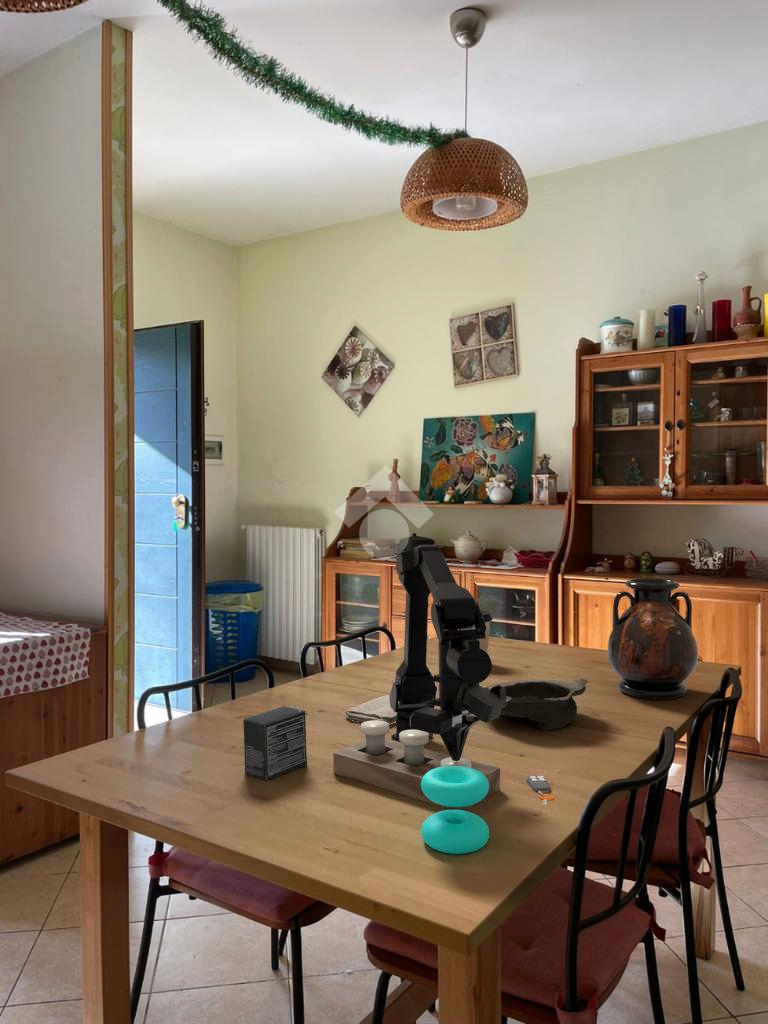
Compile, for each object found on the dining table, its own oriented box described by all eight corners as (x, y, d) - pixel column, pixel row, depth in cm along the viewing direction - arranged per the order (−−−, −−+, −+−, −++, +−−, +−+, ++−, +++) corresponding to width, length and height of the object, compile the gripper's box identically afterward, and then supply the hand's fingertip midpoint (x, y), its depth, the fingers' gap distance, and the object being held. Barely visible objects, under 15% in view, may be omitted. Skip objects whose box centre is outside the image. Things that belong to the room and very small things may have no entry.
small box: (284, 758, 153) (283, 704, 153) (308, 765, 149) (307, 710, 149) (242, 773, 145) (241, 717, 145) (266, 782, 141) (265, 723, 141)
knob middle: (411, 755, 144) (411, 727, 144) (434, 762, 141) (434, 733, 141) (393, 763, 140) (393, 734, 140) (417, 770, 137) (416, 740, 137)
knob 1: (373, 745, 150) (373, 718, 150) (395, 751, 147) (394, 723, 146) (355, 753, 146) (355, 725, 146) (377, 759, 143) (376, 730, 142)
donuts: (502, 774, 117) (458, 793, 110) (503, 841, 117) (459, 864, 110) (451, 758, 124) (406, 775, 117) (451, 821, 124) (407, 841, 117)
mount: (375, 755, 154) (375, 736, 154) (500, 789, 136) (499, 768, 136) (333, 773, 145) (333, 752, 145) (461, 812, 127) (460, 789, 127)
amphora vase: (684, 682, 208) (684, 576, 207) (709, 705, 187) (710, 586, 186) (600, 680, 210) (600, 576, 209) (616, 703, 189) (616, 586, 188)
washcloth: (342, 722, 178) (342, 708, 178) (385, 703, 193) (385, 690, 193) (386, 730, 171) (386, 716, 171) (427, 710, 186) (427, 697, 186)
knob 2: (452, 784, 139) (452, 754, 138) (477, 791, 135) (477, 761, 135) (435, 793, 134) (434, 763, 134) (460, 800, 131) (460, 769, 131)
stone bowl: (594, 738, 163) (591, 693, 162) (473, 740, 168) (469, 697, 167) (588, 703, 187) (585, 664, 187) (482, 706, 192) (479, 668, 192)
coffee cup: (455, 661, 235) (455, 611, 234) (484, 659, 237) (484, 609, 237) (468, 668, 226) (467, 616, 225) (498, 665, 228) (497, 614, 228)
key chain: (523, 782, 141) (523, 774, 141) (544, 782, 141) (544, 773, 141) (542, 812, 128) (542, 803, 128) (565, 812, 128) (565, 803, 128)
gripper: (464, 688, 122) (465, 788, 122) (524, 665, 136) (525, 755, 137) (407, 677, 129) (408, 772, 129) (470, 657, 143) (471, 742, 144)
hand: (456, 760), depth 135 cm, fingers closed
